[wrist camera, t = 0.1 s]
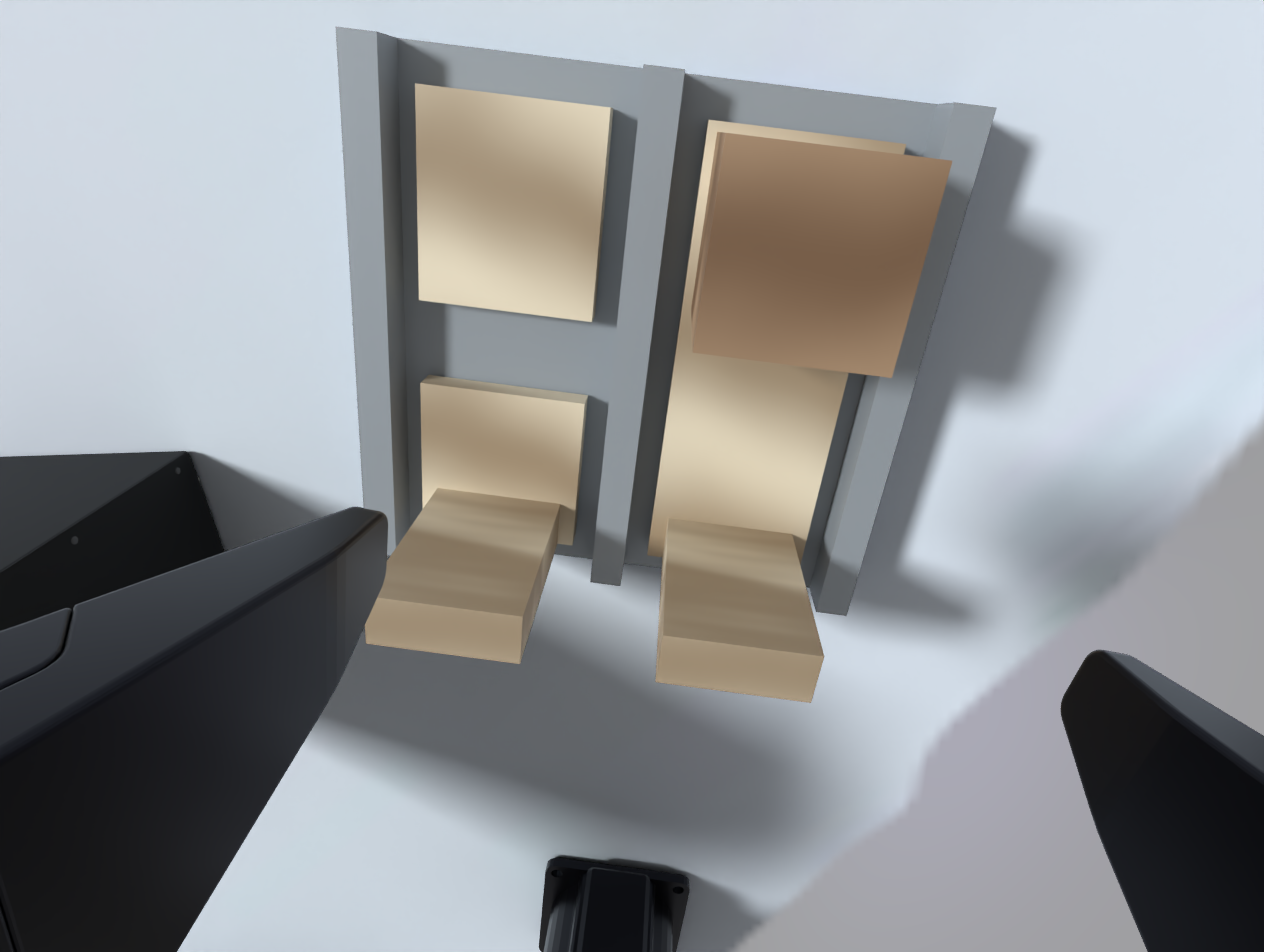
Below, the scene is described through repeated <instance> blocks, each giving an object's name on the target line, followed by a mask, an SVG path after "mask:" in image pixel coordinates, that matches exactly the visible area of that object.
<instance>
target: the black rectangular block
mask: <svg viewBox="0 0 1264 952" xmlns="http://www.w3.org/2000/svg"><path fill="white" fill-rule="evenodd" d="M223 552H224V550H223V547H222V544H221V541H220V538H219V535H218V533H217V530H216V527H215V524H214V521H213V518H212V515H211V513H210V510H209V507H208V504H207V501H206V498H205V495H204V493H203V490H202V487H201V484H200V481H199V478H198V476H197V473H196V470H195V469H194V466H193V463H192V460H191V458H190V455H189V454H188V453H187V452H186V451H176V452H144V453H112V454H80V455H48V456H16V457H0V631H2V630H5V629H8V628H11V627H13V626H16V625H19V624H22V623H25V622H28V621H31V620H34V619H37V618H39V617H42V616H45V615H48V614H51V613H53V612H56V611H59V610H62V609H64V608H70V609H71V610H72V611H73V608H74V606H75V605H77V604H79V603H82V602H85V601H88V600H90V599H93V598H96V597H99V596H102V595H105V594H107V593H110V592H113V591H116V590H119V589H122V588H124V587H127V586H130V585H133V584H136V583H139V582H141V581H144V580H147V579H150V578H153V577H155V576H158V575H161V574H164V573H167V572H170V571H172V570H175V569H178V568H181V567H184V566H187V565H189V564H192V563H195V562H198V561H201V560H204V559H206V558H209V557H212V556H215V555H218V554H220V553H223Z"/></svg>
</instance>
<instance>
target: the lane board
mask: <svg viewBox="0 0 1264 952" xmlns="http://www.w3.org/2000/svg"><path fill="white" fill-rule="evenodd" d="M336 41H337V58H338V75H339V92H340V110H341V127H342V144H343V161H344V178H345V196H346V213H347V230H348V247H349V264H350V281H351V299H352V316H353V333H354V350H355V367H356V385H357V402H358V419H359V436H360V453H361V471H362V488H363V505H364V508H365V509H370V510H376V511H380V512H383V513H384V514H385V515H386V516H387V519H388V544H387V555H388V556H391V554H392V553H393V552H394V550H395V549H396V547H397V546H398V544H399V543H400V541H401V540H402V539H403V537H404V536H405V534H406V533H407V531H408V530H409V528H410V527H411V526H412V524H413V523H414V521H415V520H416V518H417V517H418V515H419V514H420V512H421V511H422V510H423V505H422V449H421V392H420V383H421V382H422V381H423V380H424V379H425V378H426V377H427V376H428V375H434V376H442V377H450V378H457V379H465V380H473V381H481V382H489V383H496V384H504V385H512V386H520V387H528V388H535V389H543V390H551V391H559V392H567V393H574V394H582V395H588V399H587V411H586V422H585V433H584V444H583V456H582V467H581V478H580V489H579V501H578V512H577V523H576V534H575V537H574V541H573V545H564V544H557V546H556V549H555V553H554V554H557V555H565V556H572V557H580V558H588V559H593V561H592V571H591V581H590V582H593V583H601V584H608V585H616V586H620V585H621V578H622V571H623V564H624V563H626V564H633V565H641V566H649V567H656V568H662V557H656V556H648V555H647V552H648V542H649V535H650V528H651V521H652V514H653V506H654V499H655V492H656V485H657V478H658V471H659V464H660V457H661V450H662V443H663V436H664V428H665V421H666V414H667V407H668V400H669V393H670V386H671V379H672V372H673V365H674V358H675V350H676V343H677V336H678V329H679V322H680V315H681V308H682V301H683V294H684V287H685V279H686V272H687V265H688V258H689V251H690V244H691V237H692V230H693V223H694V216H695V209H696V201H697V194H698V187H699V180H700V173H701V166H702V159H703V152H704V145H705V138H706V131H707V123H708V120H716V121H724V122H732V123H740V124H748V125H756V126H765V127H773V128H781V129H789V130H797V131H805V132H813V133H821V134H829V135H837V136H846V137H854V138H862V139H870V140H878V141H886V142H894V143H902V144H906V147H905V151H904V155H910V156H919V157H927V158H935V159H943V160H951V161H952V165H951V168H950V172H949V176H948V179H947V183H946V186H945V190H944V193H943V197H942V201H941V204H940V208H939V211H938V215H937V218H936V222H935V226H934V229H933V233H932V236H931V240H930V243H929V247H928V251H927V254H926V258H925V261H924V265H923V268H922V272H921V276H920V279H919V283H918V286H917V290H916V293H915V297H914V301H913V304H912V308H911V311H910V315H909V318H908V322H907V326H906V329H905V333H904V336H903V340H902V343H901V347H900V351H899V354H898V358H897V361H896V365H895V368H894V372H893V376H892V378H888V377H880V376H872V375H864V374H856V373H849V374H848V378H847V382H846V386H845V390H844V393H843V397H842V401H841V405H840V409H839V413H838V417H837V421H836V425H835V429H834V433H833V437H832V441H831V445H830V449H829V453H828V457H827V461H826V465H825V469H824V473H823V477H822V481H821V485H820V489H819V493H818V497H817V501H816V505H815V509H814V513H813V517H812V520H811V524H810V528H809V532H808V536H807V540H806V544H805V548H804V552H803V556H802V560H801V564H800V566H801V570H802V574H803V578H804V581H805V585H806V587H809V588H810V591H811V595H812V598H813V602H814V606H815V609H816V612H822V613H829V614H837V615H844V616H846V615H847V612H848V609H849V605H850V602H851V598H852V595H853V592H854V588H855V585H856V581H857V578H858V575H859V571H860V568H861V565H862V561H863V558H864V554H865V551H866V548H867V544H868V541H869V538H870V534H871V531H872V527H873V524H874V521H875V517H876V514H877V510H878V507H879V504H880V500H881V497H882V494H883V490H884V487H885V483H886V480H887V477H888V473H889V470H890V466H891V463H892V460H893V456H894V453H895V450H896V446H897V443H898V439H899V436H900V433H901V429H902V426H903V422H904V419H905V416H906V412H907V409H908V406H909V402H910V399H911V395H912V392H913V389H914V385H915V382H916V379H917V375H918V372H919V368H920V365H921V362H922V358H923V355H924V351H925V348H926V345H927V341H928V338H929V335H930V331H931V328H932V324H933V321H934V318H935V314H936V311H937V307H938V304H939V301H940V297H941V294H942V291H943V287H944V284H945V280H946V277H947V274H948V270H949V267H950V264H951V260H952V257H953V253H954V250H955V247H956V243H957V240H958V236H959V233H960V230H961V226H962V223H963V220H964V216H965V213H966V209H967V206H968V203H969V199H970V196H971V192H972V189H973V186H974V182H975V179H976V176H977V172H978V169H979V165H980V162H981V159H982V155H983V152H984V149H985V145H986V142H987V138H988V135H989V132H990V128H991V125H992V121H993V118H994V115H995V111H996V108H995V107H987V106H979V105H971V104H963V103H945V104H930V103H922V102H914V101H906V100H897V99H889V98H881V97H873V96H865V95H857V94H849V93H840V92H832V91H824V90H816V89H808V88H800V87H791V86H783V85H775V84H767V83H759V82H751V81H743V80H734V79H726V78H718V77H710V76H702V75H694V74H686V73H685V69H677V68H669V67H661V66H653V65H645V64H644V66H643V68H637V67H628V66H620V65H612V64H604V63H596V62H588V61H580V60H571V59H563V58H555V57H547V56H539V55H531V54H523V53H514V52H506V51H498V50H490V49H482V48H474V47H465V46H457V45H449V44H441V43H433V42H425V41H417V40H408V39H400V38H395V37H392V36H389V35H386V34H382V33H379V32H375V31H367V30H359V29H351V28H343V27H336ZM415 83H416V84H424V85H432V86H440V87H449V88H457V89H465V90H473V91H481V92H489V93H497V94H505V95H513V96H521V97H530V98H538V99H546V100H554V101H562V102H570V103H578V104H586V105H594V106H602V107H611V108H613V119H612V130H611V141H610V153H609V164H608V175H607V186H606V197H605V209H604V220H603V231H602V242H601V254H600V265H599V276H598V287H597V298H596V310H595V317H594V319H593V321H592V322H587V321H579V320H571V319H564V318H556V317H548V316H540V315H532V314H524V313H516V312H508V311H501V310H493V309H485V308H477V307H469V306H461V305H453V304H446V303H438V302H430V301H422V300H419V279H418V222H417V166H416V109H415Z"/></svg>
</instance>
